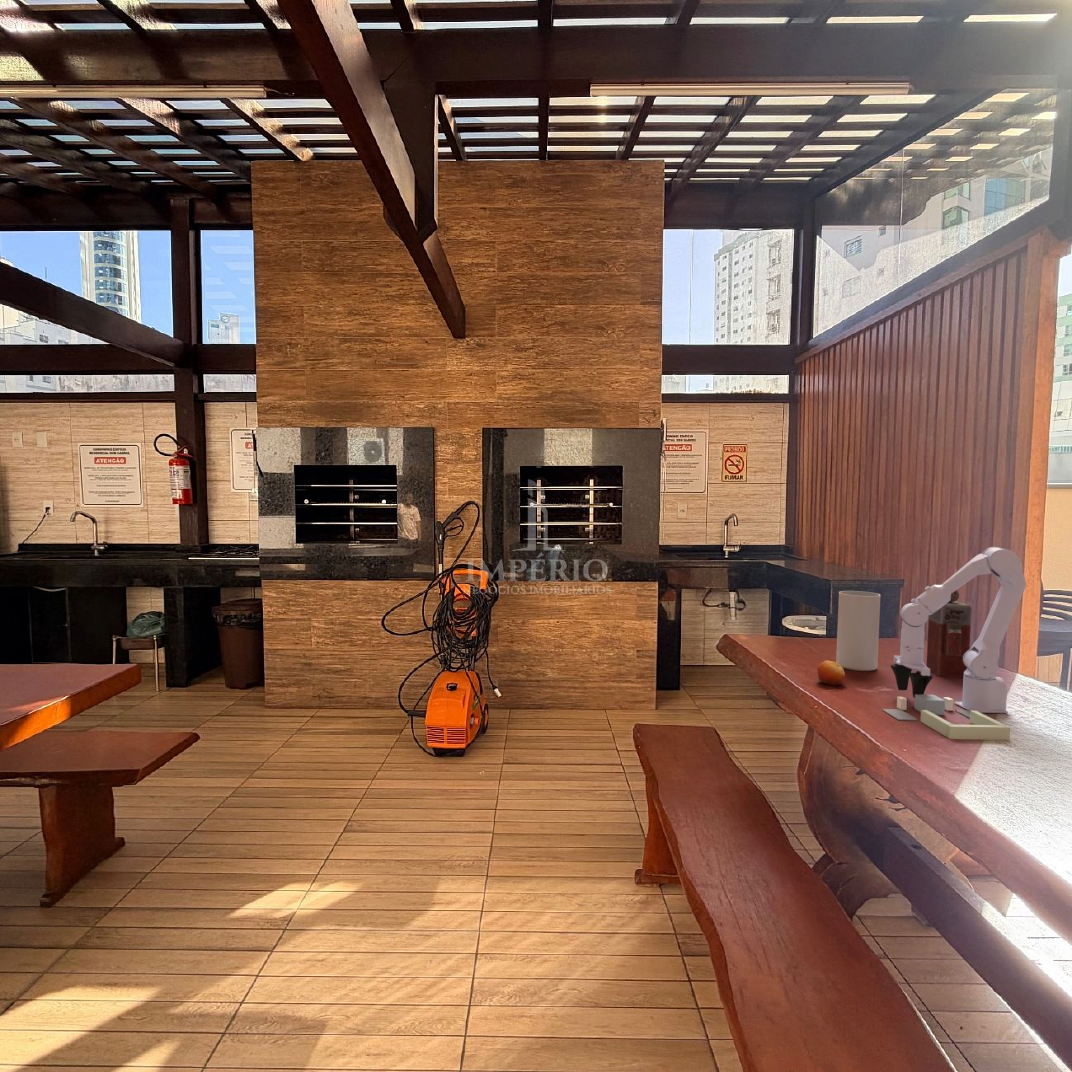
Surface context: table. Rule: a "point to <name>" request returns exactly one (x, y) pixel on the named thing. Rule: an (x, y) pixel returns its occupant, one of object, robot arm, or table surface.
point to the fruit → (830, 673)
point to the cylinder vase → (858, 630)
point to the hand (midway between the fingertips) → (909, 694)
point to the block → (930, 704)
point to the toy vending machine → (949, 638)
